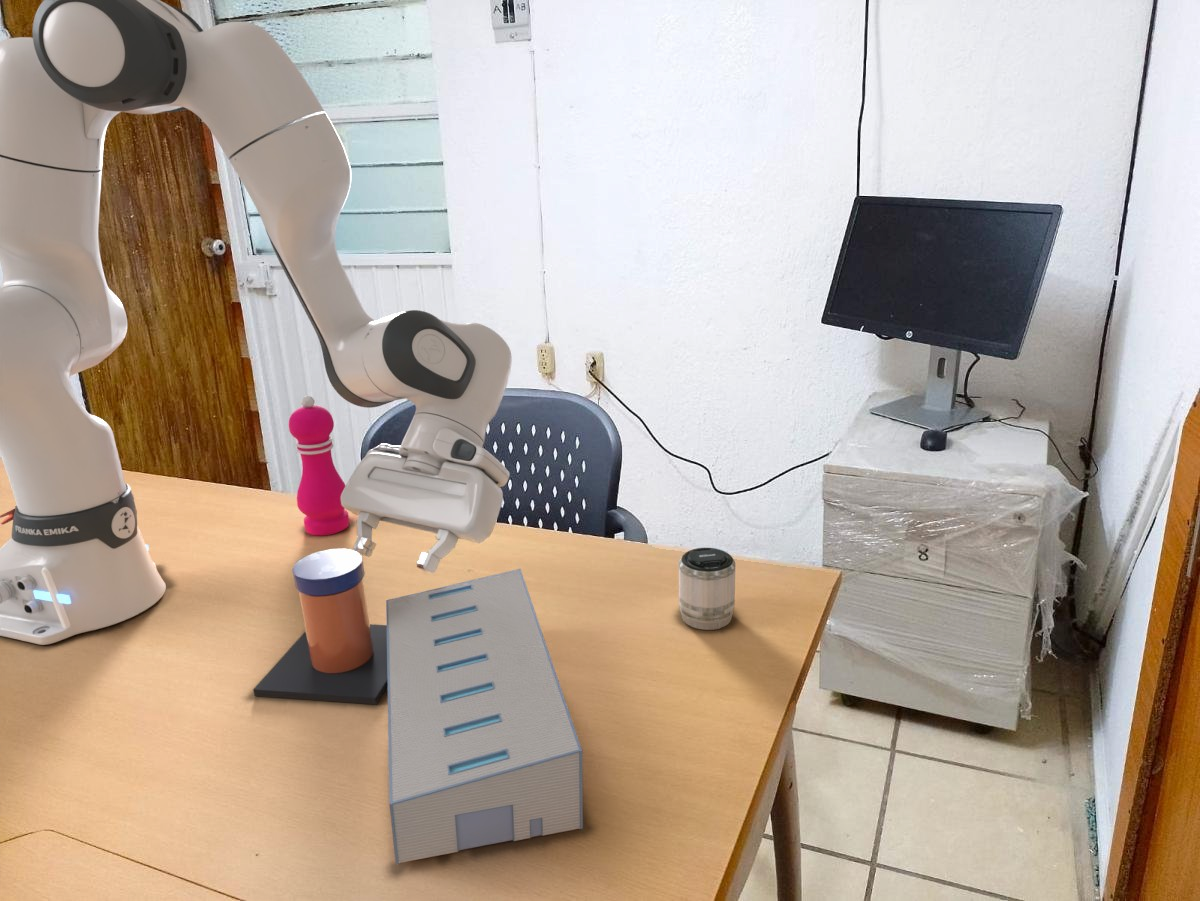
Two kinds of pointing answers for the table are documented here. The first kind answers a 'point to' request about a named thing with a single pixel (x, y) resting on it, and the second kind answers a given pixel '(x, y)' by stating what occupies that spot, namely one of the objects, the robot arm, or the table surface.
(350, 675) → the mat
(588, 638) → the table surface
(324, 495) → the pepper mill
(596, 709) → the table surface
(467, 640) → the warehouse
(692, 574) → the camera lens
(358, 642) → the jam jar
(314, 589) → the jam lid
